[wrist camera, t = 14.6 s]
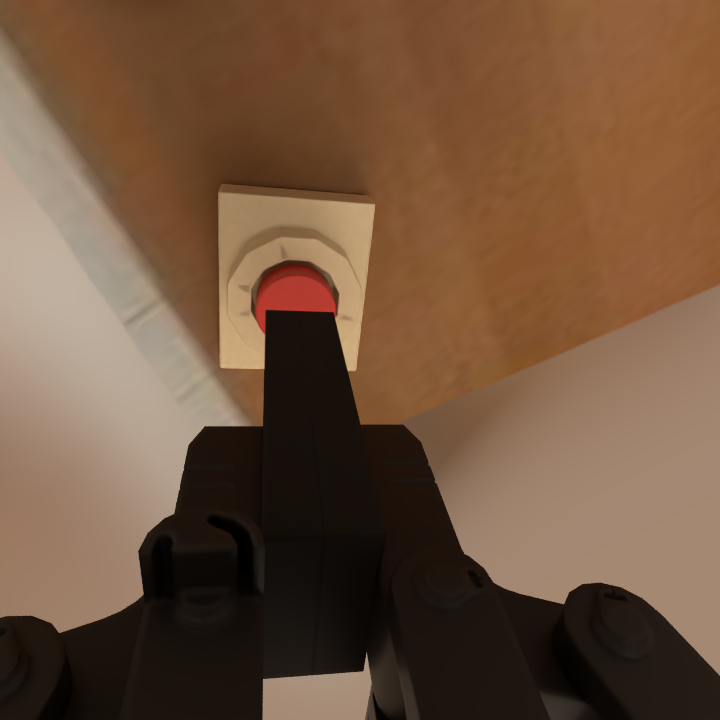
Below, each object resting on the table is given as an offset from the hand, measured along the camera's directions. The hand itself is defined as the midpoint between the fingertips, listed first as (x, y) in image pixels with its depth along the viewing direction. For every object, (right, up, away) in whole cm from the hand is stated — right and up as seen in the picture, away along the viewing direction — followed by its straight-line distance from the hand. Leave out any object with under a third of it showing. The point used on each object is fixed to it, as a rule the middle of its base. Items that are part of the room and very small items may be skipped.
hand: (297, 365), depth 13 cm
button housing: (-3, +5, +20) cm, 20 cm away
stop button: (-2, +3, +17) cm, 17 cm away
